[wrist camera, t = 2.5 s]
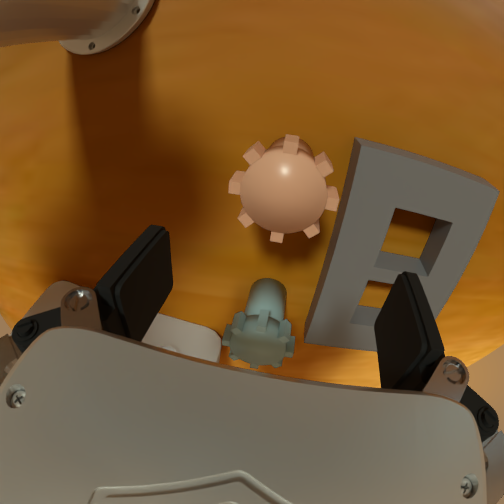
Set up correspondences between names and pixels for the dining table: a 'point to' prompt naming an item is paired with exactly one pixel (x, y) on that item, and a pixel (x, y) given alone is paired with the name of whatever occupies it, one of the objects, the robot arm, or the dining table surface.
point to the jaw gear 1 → (284, 188)
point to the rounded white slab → (150, 328)
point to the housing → (374, 231)
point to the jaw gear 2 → (261, 327)
